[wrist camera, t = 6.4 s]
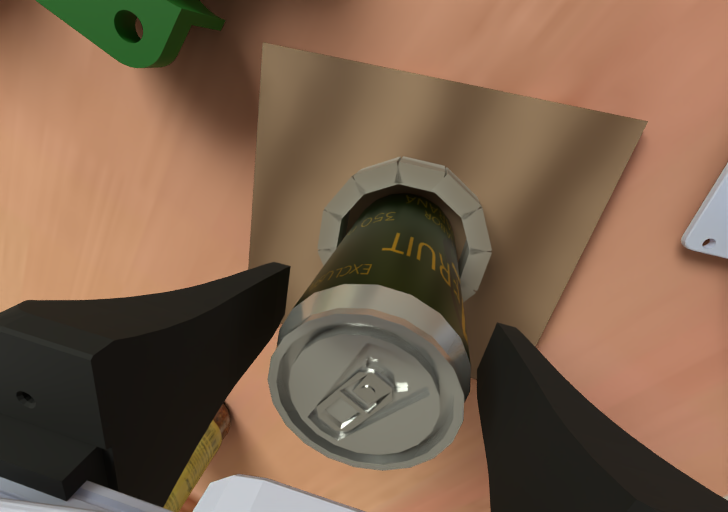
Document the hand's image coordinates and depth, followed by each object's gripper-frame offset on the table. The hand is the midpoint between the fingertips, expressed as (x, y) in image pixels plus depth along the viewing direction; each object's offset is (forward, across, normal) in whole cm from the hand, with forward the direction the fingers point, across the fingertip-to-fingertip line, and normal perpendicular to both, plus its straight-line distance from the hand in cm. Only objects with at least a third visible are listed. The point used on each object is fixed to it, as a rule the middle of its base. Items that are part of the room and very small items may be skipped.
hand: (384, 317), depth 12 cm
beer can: (+8, 0, 0) cm, 9 cm away
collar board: (+9, 0, 0) cm, 9 cm away
